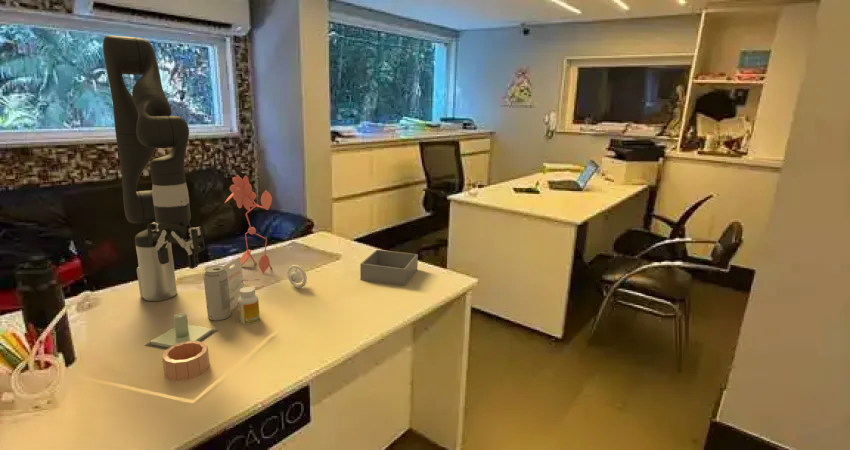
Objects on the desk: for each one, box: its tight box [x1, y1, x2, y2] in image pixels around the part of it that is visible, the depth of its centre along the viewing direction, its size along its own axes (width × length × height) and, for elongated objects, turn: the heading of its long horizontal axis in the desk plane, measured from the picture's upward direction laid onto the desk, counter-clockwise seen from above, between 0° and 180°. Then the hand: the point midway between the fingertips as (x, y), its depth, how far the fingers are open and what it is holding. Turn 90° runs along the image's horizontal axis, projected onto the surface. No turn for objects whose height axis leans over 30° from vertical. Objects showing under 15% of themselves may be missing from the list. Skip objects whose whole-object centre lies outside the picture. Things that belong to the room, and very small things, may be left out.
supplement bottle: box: [237, 286, 261, 325], centre depth 128 cm, size 5×5×10 cm
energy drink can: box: [203, 265, 232, 322], centre depth 128 cm, size 6×6×15 cm
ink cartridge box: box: [223, 256, 244, 311], centre depth 136 cm, size 9×5×15 cm, turn 170°
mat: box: [144, 328, 219, 351], centre depth 119 cm, size 12×12×1 cm
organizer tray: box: [359, 249, 419, 287], centre depth 165 cm, size 16×16×6 cm
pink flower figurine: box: [224, 174, 273, 282], centre depth 160 cm, size 15×26×35 cm, turn 57°
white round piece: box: [286, 264, 308, 289], centre depth 152 cm, size 8×6×8 cm
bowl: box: [161, 341, 210, 381], centre depth 105 cm, size 9×9×5 cm
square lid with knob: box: [150, 312, 213, 348], centre depth 118 cm, size 10×10×6 cm
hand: (179, 265), depth 114 cm, fingers open, 8 cm apart
